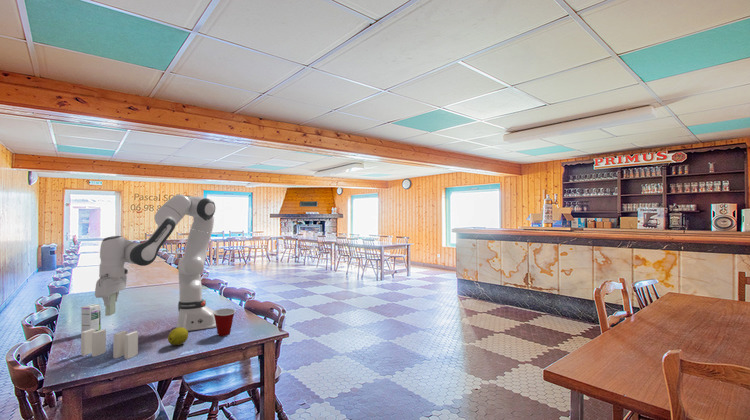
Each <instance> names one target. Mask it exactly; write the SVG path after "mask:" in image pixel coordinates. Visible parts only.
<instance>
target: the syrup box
mask: <svg viewBox="0 0 750 420" xmlns="http://www.w3.org/2000/svg"><path fill="white" fill-rule="evenodd" d="M80 310H81V314H80V315H81V319H80V320H81V323H80V324H81V330H80V331H81V332H84V331H87V330H90V329H95V332H96V331H99V330H102V327H101V326H102V325H101V318H102V317H101V314H102V313H101V311H102V310H101V304H98V303H91V304H89V305H84V306H81V309H80Z"/></svg>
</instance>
